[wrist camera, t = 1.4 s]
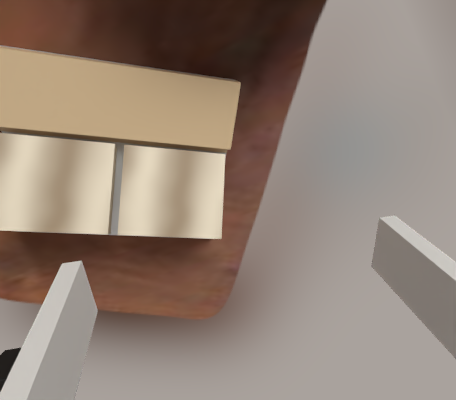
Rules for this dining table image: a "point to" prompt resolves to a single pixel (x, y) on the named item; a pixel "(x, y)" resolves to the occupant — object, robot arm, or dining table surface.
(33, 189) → the cream flat block
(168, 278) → the dining table surface
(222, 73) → the dining table surface
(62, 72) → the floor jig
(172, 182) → the beige square panel
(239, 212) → the dining table surface
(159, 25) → the dining table surface
